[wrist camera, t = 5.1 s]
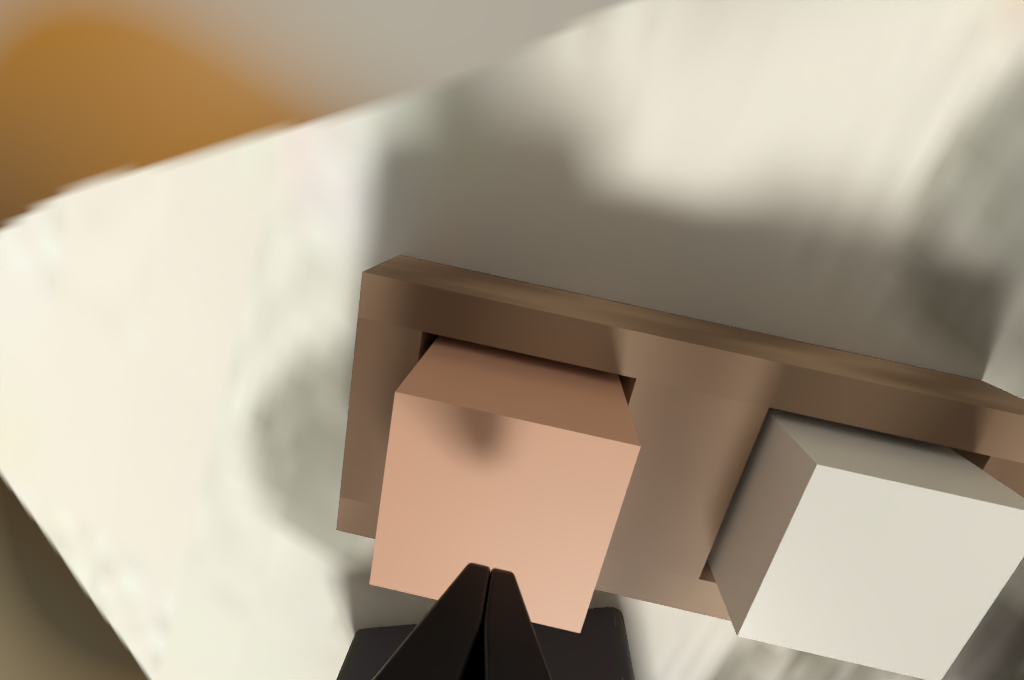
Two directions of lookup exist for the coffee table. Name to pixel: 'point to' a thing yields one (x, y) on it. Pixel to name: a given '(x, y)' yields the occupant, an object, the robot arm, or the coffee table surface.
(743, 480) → the cream key
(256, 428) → the coffee table surface
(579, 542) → the tan wooden block
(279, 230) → the coffee table surface
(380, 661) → the calculator
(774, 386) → the key panel
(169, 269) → the coffee table surface
